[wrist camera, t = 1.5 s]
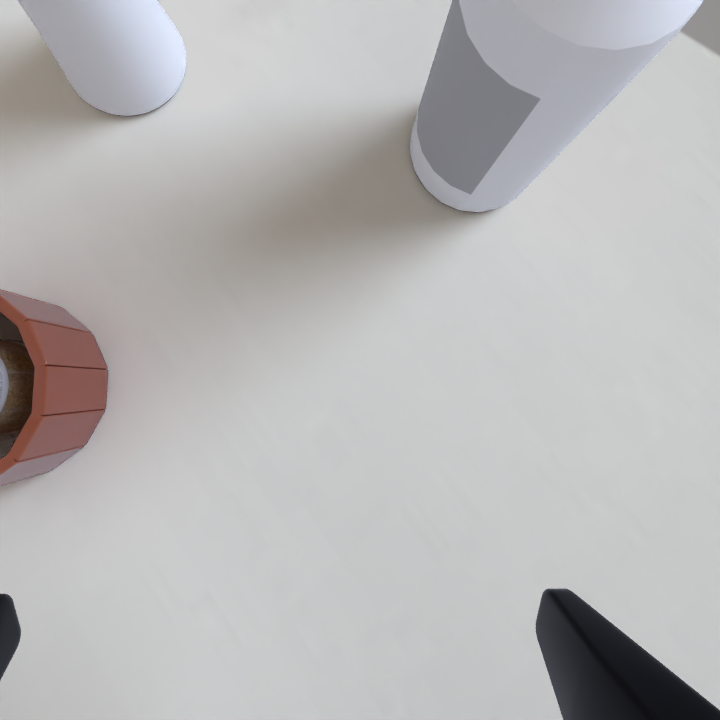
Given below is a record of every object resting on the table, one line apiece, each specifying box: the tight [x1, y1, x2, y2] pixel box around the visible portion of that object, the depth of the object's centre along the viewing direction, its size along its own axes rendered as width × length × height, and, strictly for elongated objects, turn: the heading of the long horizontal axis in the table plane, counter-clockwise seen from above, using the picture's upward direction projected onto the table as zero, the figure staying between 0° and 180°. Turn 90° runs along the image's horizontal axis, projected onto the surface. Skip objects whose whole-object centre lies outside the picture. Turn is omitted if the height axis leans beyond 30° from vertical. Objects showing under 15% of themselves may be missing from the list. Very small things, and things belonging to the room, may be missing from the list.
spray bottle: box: [410, 0, 703, 212], centre depth 14 cm, size 7×7×18 cm
